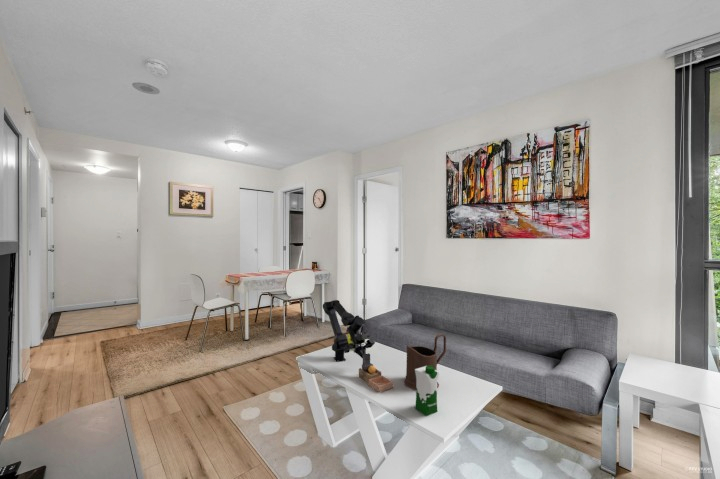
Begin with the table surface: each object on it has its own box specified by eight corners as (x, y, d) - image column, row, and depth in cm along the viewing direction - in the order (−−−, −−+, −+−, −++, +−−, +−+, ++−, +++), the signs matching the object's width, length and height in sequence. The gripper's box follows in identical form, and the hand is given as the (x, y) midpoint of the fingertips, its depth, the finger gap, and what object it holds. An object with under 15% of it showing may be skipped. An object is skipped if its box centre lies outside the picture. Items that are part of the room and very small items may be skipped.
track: (358, 377, 173) (358, 368, 173) (370, 374, 178) (370, 365, 178) (369, 384, 165) (369, 375, 165) (381, 381, 170) (381, 371, 170)
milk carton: (426, 417, 135) (426, 371, 135) (411, 408, 143) (412, 364, 143) (440, 412, 140) (441, 367, 140) (426, 402, 148) (426, 360, 148)
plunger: (361, 369, 174) (361, 354, 174) (369, 367, 176) (369, 353, 176) (365, 372, 170) (366, 357, 170) (373, 370, 173) (373, 355, 173)
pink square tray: (368, 385, 165) (368, 379, 165) (382, 380, 170) (382, 375, 170) (379, 392, 157) (379, 386, 157) (393, 387, 162) (393, 382, 162)
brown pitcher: (397, 378, 173) (398, 333, 173) (435, 372, 182) (435, 329, 182) (414, 394, 156) (415, 343, 156) (455, 387, 164) (456, 339, 164)
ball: (366, 371, 171) (367, 364, 171) (373, 370, 173) (374, 363, 172) (369, 375, 168) (370, 368, 167) (376, 374, 169) (377, 367, 169)
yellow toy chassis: (347, 344, 228) (347, 332, 228) (353, 343, 231) (353, 331, 231) (358, 351, 214) (358, 339, 214) (365, 349, 217) (365, 337, 217)
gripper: (346, 329, 175) (357, 355, 165) (373, 325, 185) (384, 349, 176) (339, 340, 181) (348, 365, 172) (365, 335, 191) (376, 358, 182)
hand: (365, 359), depth 175 cm, fingers closed, pressing on plunger
